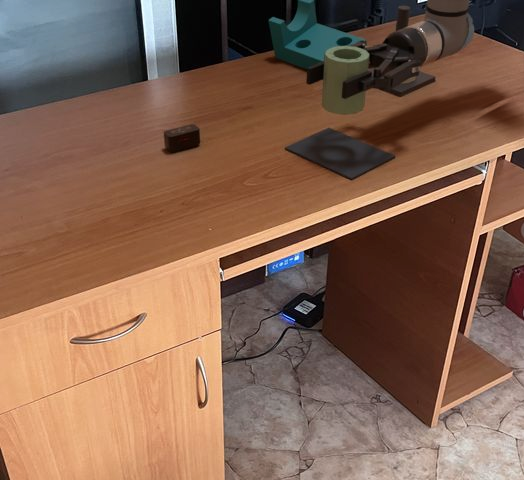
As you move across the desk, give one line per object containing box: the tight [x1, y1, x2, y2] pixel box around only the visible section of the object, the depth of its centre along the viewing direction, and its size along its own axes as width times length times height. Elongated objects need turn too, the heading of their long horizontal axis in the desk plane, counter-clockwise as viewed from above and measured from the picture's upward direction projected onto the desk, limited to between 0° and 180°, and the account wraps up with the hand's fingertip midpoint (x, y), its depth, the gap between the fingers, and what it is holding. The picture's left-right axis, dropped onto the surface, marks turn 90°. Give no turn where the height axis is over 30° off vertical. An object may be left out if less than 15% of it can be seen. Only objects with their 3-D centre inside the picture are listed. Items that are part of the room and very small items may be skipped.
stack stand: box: [368, 5, 437, 98], centre depth 163 cm, size 12×12×15 cm
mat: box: [284, 127, 396, 181], centre depth 142 cm, size 16×12×1 cm
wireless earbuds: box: [163, 123, 201, 153], centre depth 143 cm, size 5×7×3 cm, turn 122°
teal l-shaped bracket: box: [268, 0, 368, 70], centre depth 171 cm, size 18×11×10 cm, turn 44°
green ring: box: [321, 46, 370, 116], centre depth 133 cm, size 7×7×9 cm
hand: (326, 83), depth 130 cm, fingers closed on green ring, 7 cm apart
